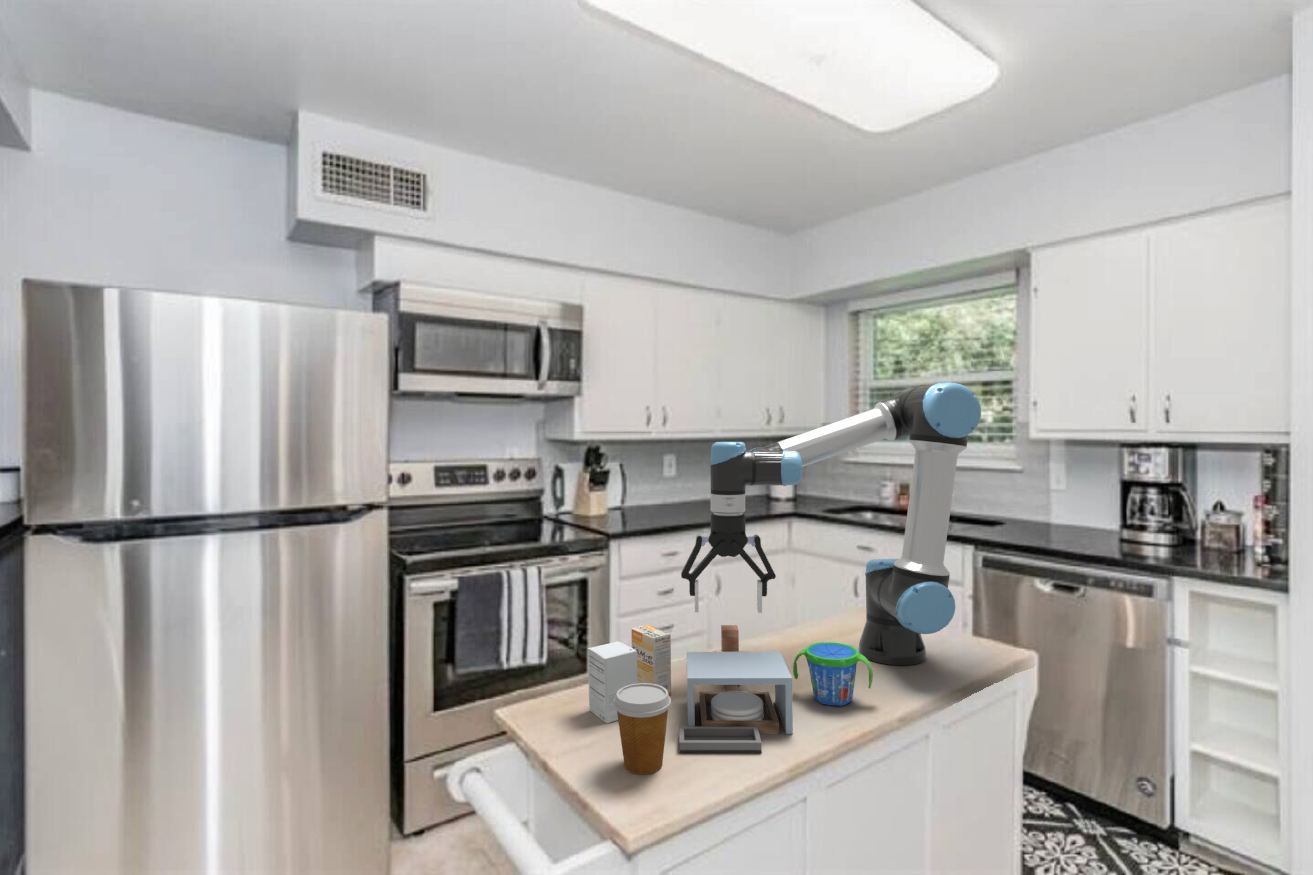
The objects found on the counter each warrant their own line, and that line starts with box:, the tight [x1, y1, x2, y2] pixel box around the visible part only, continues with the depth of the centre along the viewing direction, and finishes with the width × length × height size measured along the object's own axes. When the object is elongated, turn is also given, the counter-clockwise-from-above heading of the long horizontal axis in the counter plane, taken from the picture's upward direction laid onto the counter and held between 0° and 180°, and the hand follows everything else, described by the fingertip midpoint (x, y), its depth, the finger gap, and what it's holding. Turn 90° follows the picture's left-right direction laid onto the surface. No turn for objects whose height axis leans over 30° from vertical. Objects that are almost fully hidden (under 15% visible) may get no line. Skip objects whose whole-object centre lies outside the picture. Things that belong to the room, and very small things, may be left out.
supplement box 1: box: [587, 641, 638, 724], centre depth 131 cm, size 7×7×13 cm
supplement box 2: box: [630, 624, 672, 696], centre depth 140 cm, size 8×5×13 cm, turn 37°
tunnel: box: [686, 651, 794, 735], centre depth 128 cm, size 19×14×10 cm
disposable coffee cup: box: [614, 683, 672, 775], centre depth 110 cm, size 10×10×12 cm
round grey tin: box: [710, 690, 764, 721], centre depth 128 cm, size 10×10×4 cm
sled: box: [698, 624, 780, 735], centre depth 134 cm, size 14×26×12 cm, turn 178°
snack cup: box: [792, 641, 874, 707], centre depth 135 cm, size 16×10×10 cm
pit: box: [678, 726, 763, 754], centre depth 117 cm, size 14×6×2 cm, turn 88°
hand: (728, 610), depth 145 cm, fingers open, 13 cm apart
